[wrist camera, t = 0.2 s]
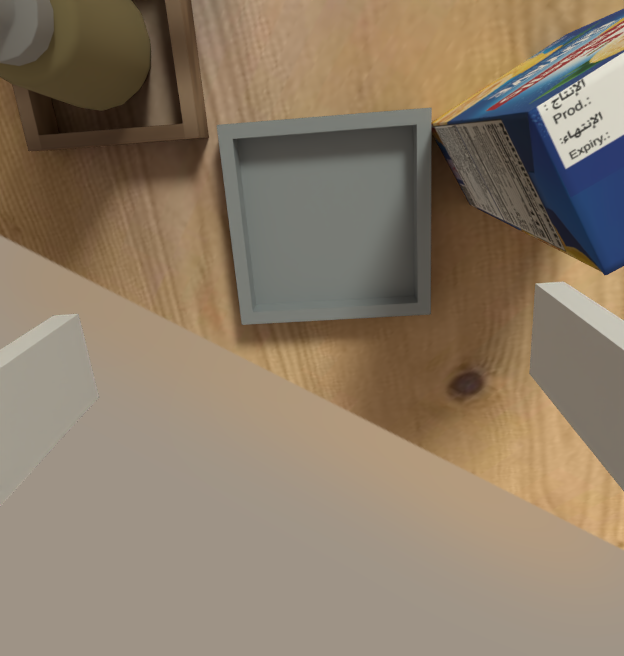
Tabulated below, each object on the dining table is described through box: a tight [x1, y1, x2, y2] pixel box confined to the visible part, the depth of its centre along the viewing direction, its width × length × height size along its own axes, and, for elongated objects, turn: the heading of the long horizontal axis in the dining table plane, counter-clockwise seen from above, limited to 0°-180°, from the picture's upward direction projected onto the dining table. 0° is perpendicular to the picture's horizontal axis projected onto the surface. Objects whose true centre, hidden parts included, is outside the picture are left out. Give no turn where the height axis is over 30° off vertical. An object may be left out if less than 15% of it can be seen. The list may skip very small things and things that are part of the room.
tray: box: [217, 108, 431, 325], centre depth 40 cm, size 15×15×2 cm
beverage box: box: [431, 9, 624, 275], centre depth 28 cm, size 7×11×22 cm, turn 123°
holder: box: [12, 0, 209, 151], centre depth 37 cm, size 12×12×3 cm
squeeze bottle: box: [0, 0, 151, 111], centre depth 30 cm, size 8×8×18 cm
